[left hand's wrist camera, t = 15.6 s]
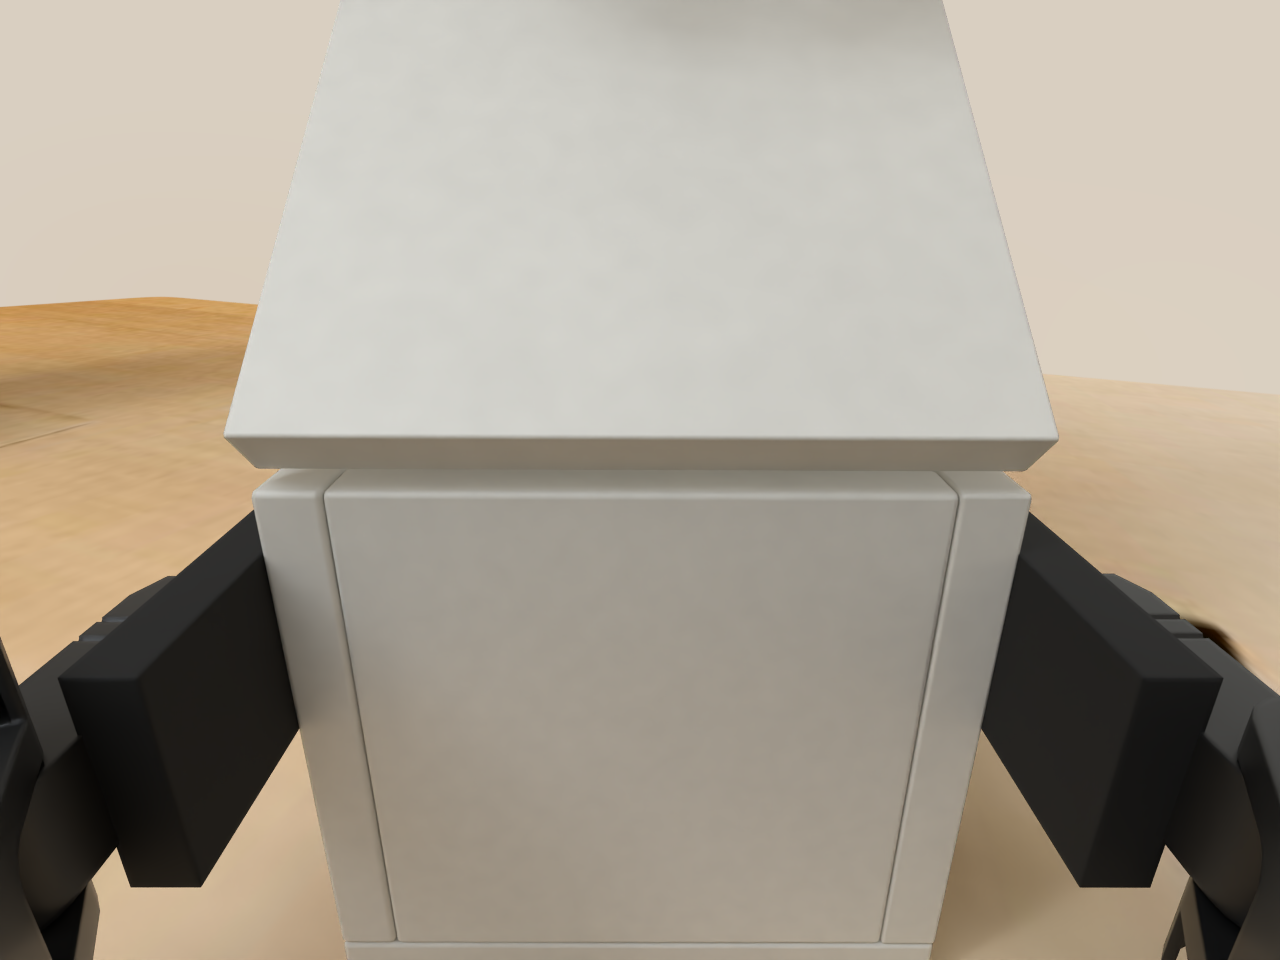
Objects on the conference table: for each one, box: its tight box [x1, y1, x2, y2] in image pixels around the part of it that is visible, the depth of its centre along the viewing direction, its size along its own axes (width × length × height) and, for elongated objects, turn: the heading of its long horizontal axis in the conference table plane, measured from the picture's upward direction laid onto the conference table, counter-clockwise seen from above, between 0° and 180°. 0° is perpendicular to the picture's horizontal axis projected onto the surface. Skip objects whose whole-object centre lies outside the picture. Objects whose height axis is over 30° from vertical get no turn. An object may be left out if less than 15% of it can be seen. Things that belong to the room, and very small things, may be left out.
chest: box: [252, 469, 1031, 960], centre depth 18 cm, size 15×10×9 cm, turn 0°
